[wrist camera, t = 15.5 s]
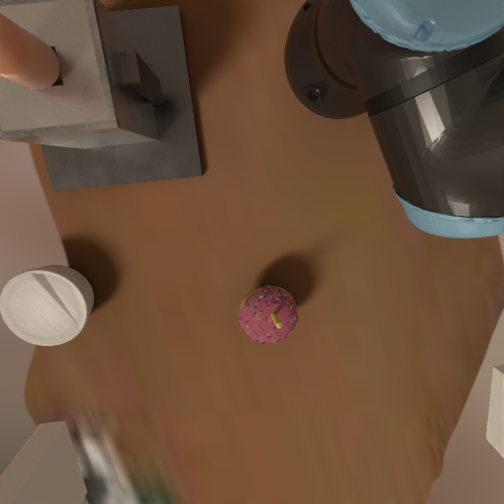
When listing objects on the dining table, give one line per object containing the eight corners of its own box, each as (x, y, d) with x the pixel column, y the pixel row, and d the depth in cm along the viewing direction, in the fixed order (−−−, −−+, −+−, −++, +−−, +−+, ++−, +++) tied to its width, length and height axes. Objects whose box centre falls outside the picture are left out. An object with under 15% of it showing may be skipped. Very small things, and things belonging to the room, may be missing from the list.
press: (179, 9, 40) (143, -98, 24) (202, 175, 46) (185, 181, 29) (14, 24, 40) (-139, -75, 23) (56, 190, 45) (-44, 205, 29)
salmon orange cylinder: (121, 84, 40) (-29, -23, 17) (127, 116, 41) (-8, 54, 18) (91, 87, 40) (-99, -17, 17) (98, 119, 41) (-74, 60, 18)
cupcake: (246, 269, 49) (251, 301, 38) (300, 283, 51) (320, 318, 39) (232, 320, 51) (232, 365, 40) (283, 332, 52) (297, 379, 41)
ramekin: (112, 277, 49) (98, 290, 44) (87, 338, 51) (71, 358, 46) (36, 246, 47) (12, 256, 42) (14, 311, 49) (-11, 328, 44)
